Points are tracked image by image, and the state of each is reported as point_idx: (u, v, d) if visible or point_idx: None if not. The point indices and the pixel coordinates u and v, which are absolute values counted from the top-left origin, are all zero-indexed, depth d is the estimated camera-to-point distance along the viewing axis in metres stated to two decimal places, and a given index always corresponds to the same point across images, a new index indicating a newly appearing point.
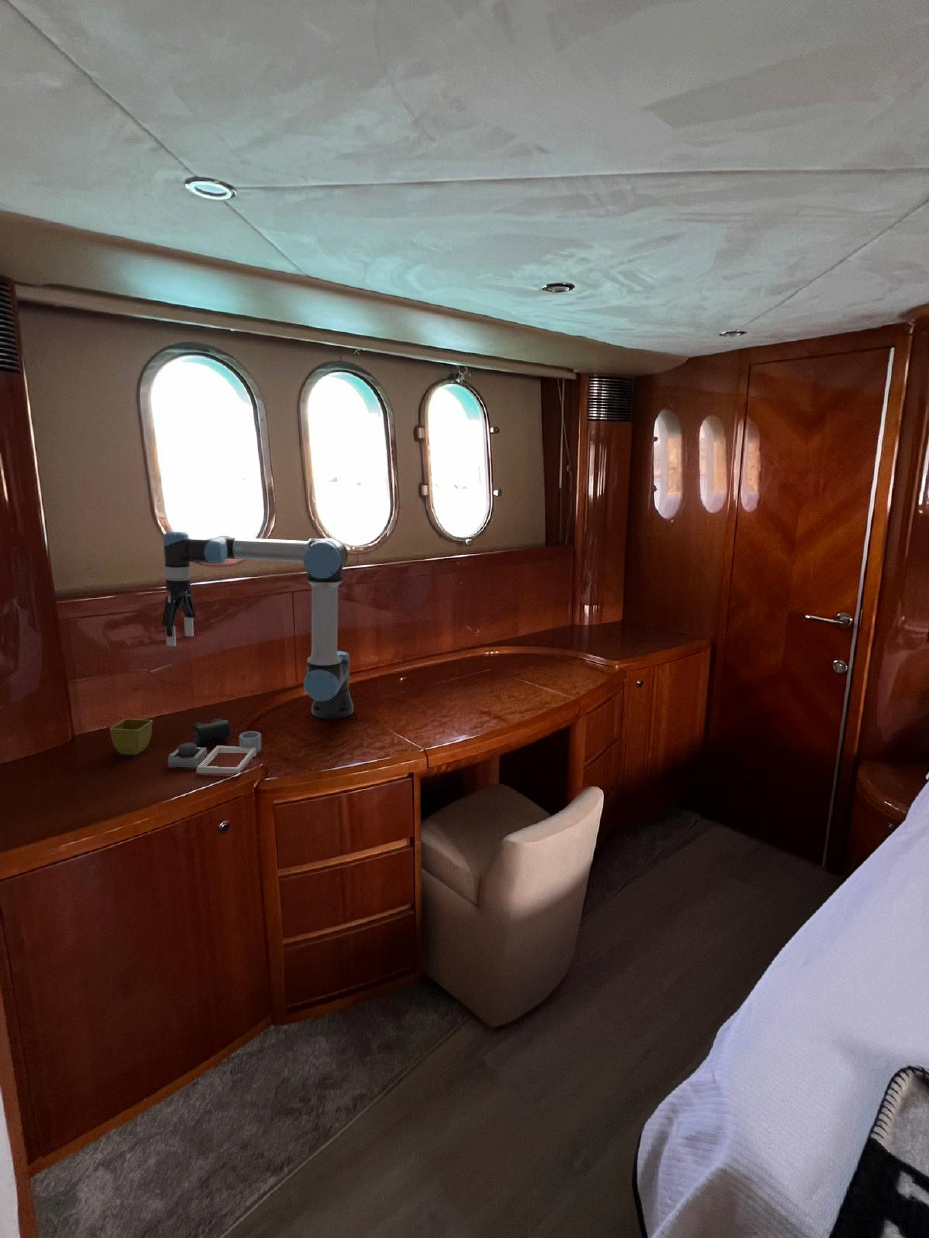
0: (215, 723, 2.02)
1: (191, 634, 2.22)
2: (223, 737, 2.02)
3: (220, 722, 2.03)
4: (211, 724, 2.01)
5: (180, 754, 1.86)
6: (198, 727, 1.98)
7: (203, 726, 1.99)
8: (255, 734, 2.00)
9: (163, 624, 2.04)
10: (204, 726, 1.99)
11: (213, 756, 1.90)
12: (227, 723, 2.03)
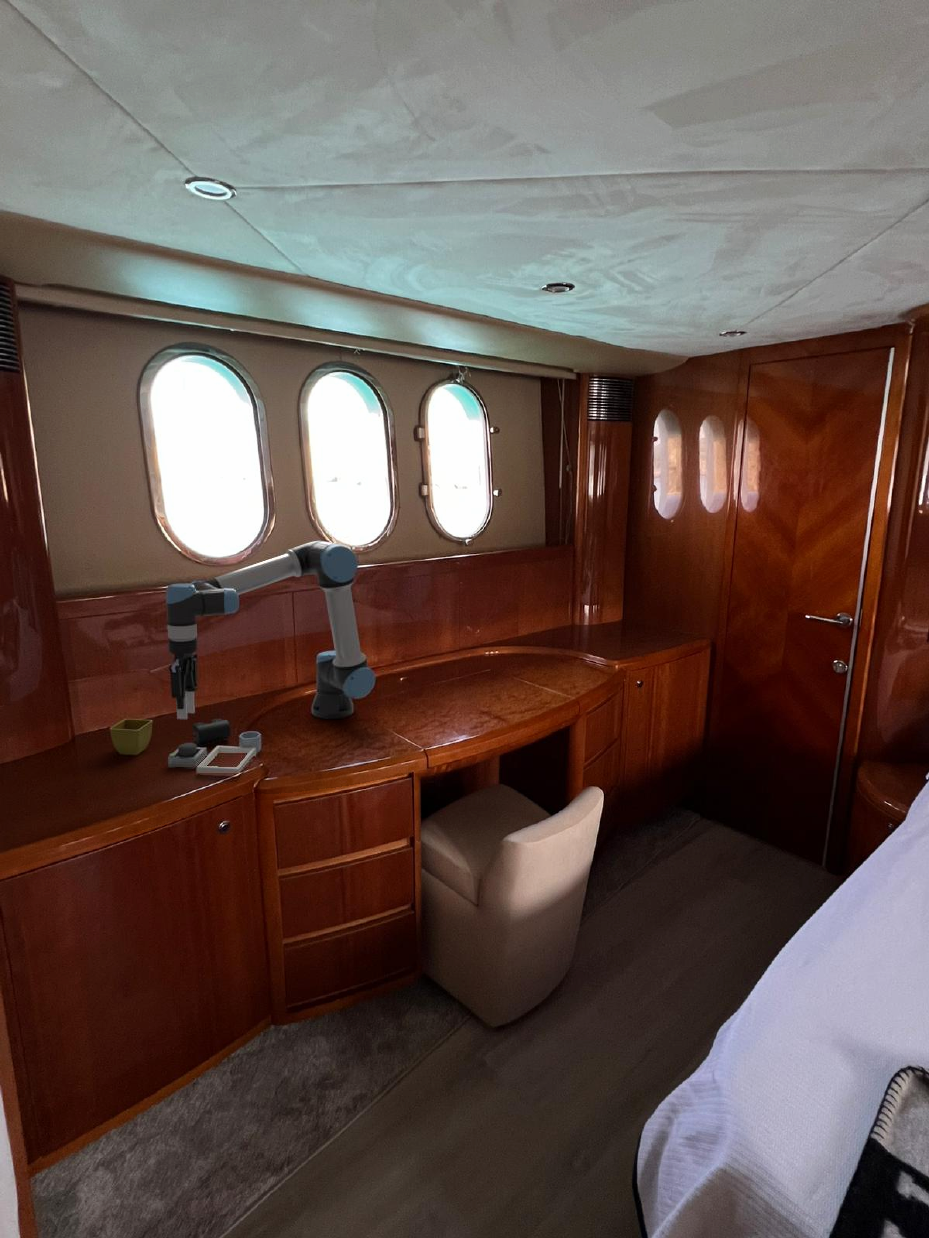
0: (215, 723, 2.02)
1: (192, 711, 1.87)
2: (223, 737, 2.02)
3: (220, 722, 2.03)
4: (211, 724, 2.01)
5: (180, 754, 1.86)
6: (198, 727, 1.98)
7: (203, 726, 1.99)
8: (255, 734, 2.00)
9: (173, 696, 1.78)
10: (204, 726, 1.99)
11: (213, 756, 1.90)
12: (227, 723, 2.03)
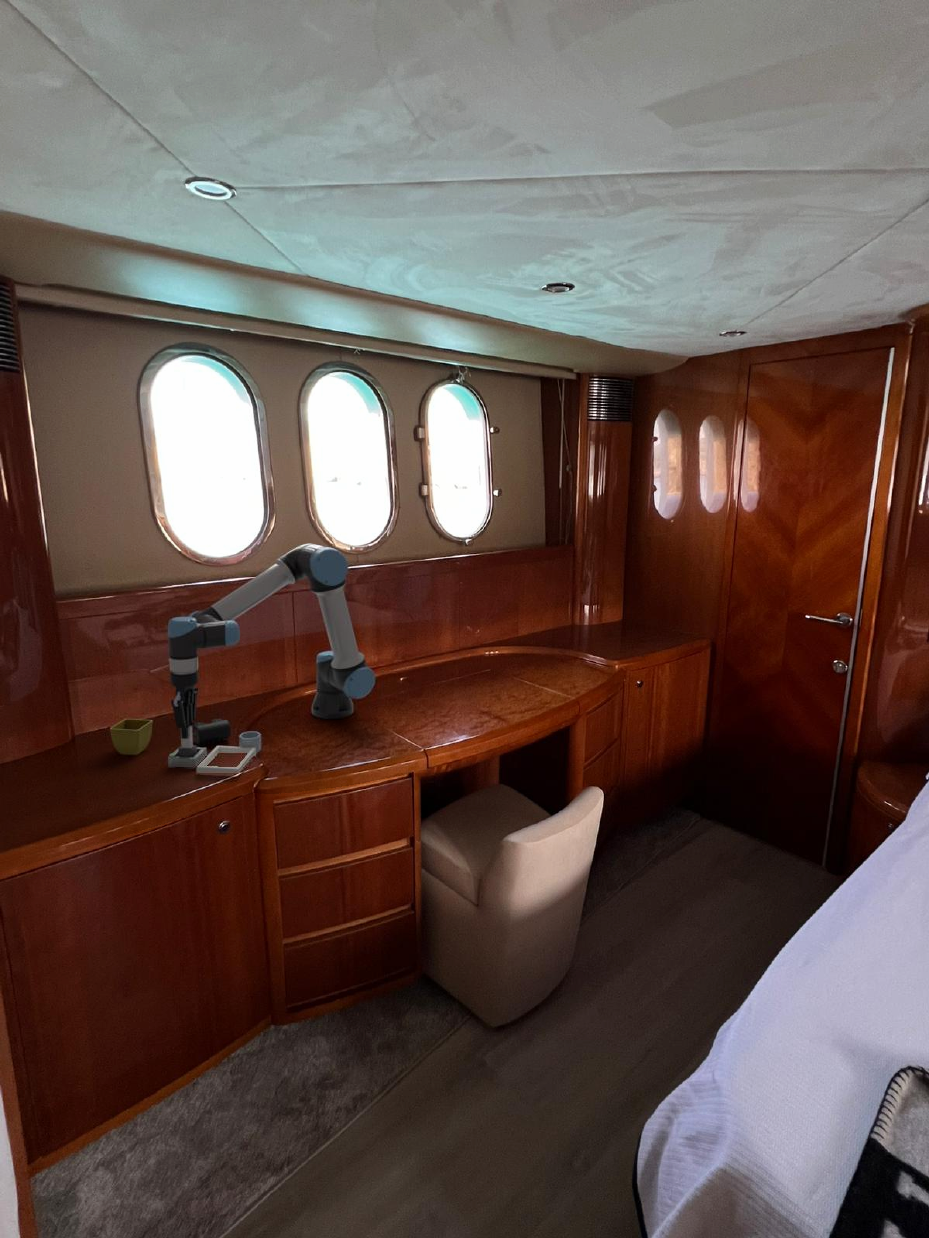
0: (215, 723, 2.02)
1: None
2: (223, 737, 2.02)
3: (220, 722, 2.03)
4: (211, 724, 2.01)
5: (180, 756, 1.86)
6: (198, 727, 1.98)
7: (203, 726, 1.99)
8: (255, 734, 2.00)
9: (178, 726, 1.82)
10: (204, 726, 1.99)
11: (213, 756, 1.90)
12: (227, 723, 2.03)
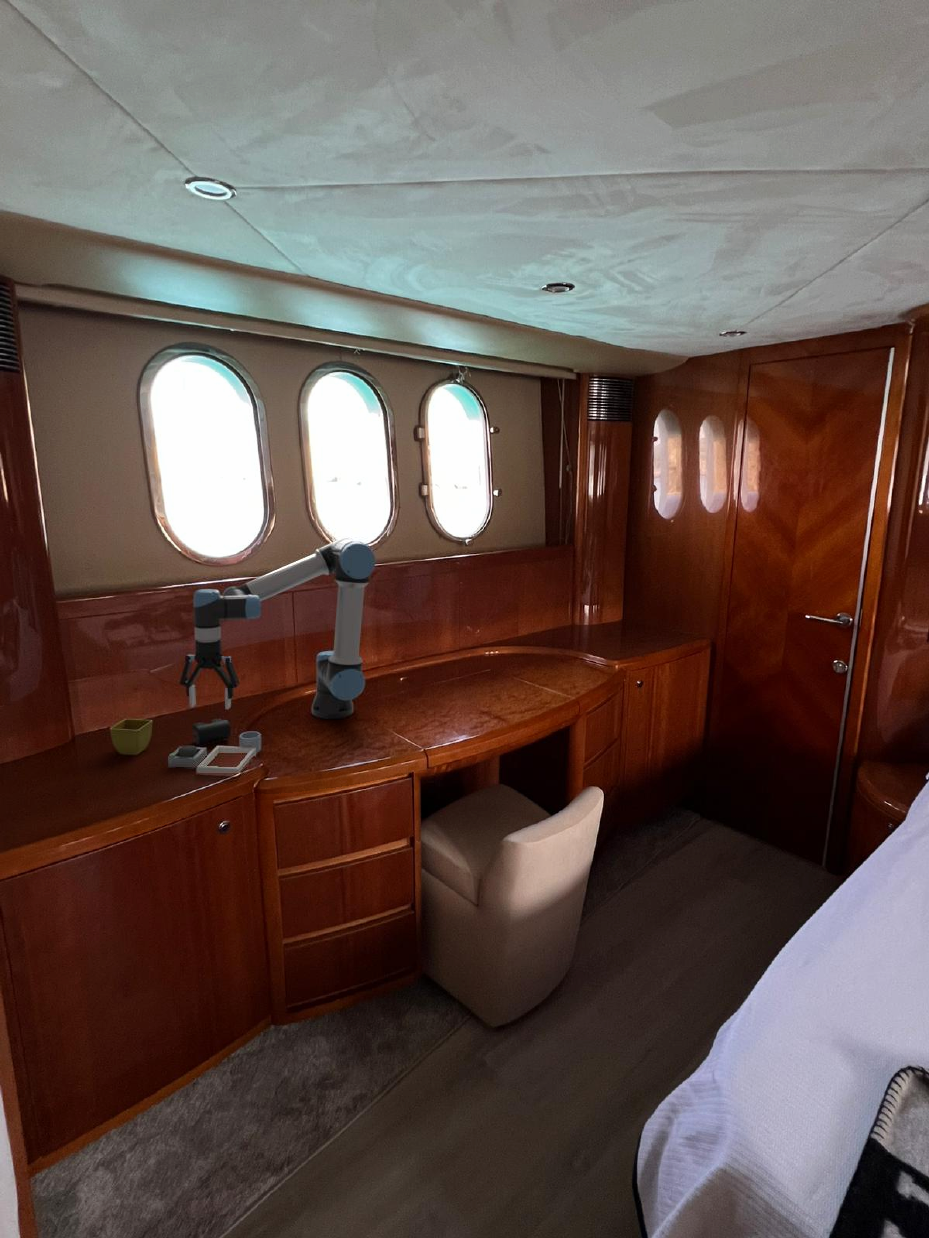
0: (215, 723, 2.02)
1: None
2: (223, 737, 2.02)
3: (220, 722, 2.03)
4: (211, 724, 2.01)
5: None
6: (198, 727, 1.98)
7: (203, 726, 1.99)
8: (255, 734, 2.00)
9: None
10: (204, 726, 1.99)
11: (213, 756, 1.90)
12: (227, 723, 2.03)
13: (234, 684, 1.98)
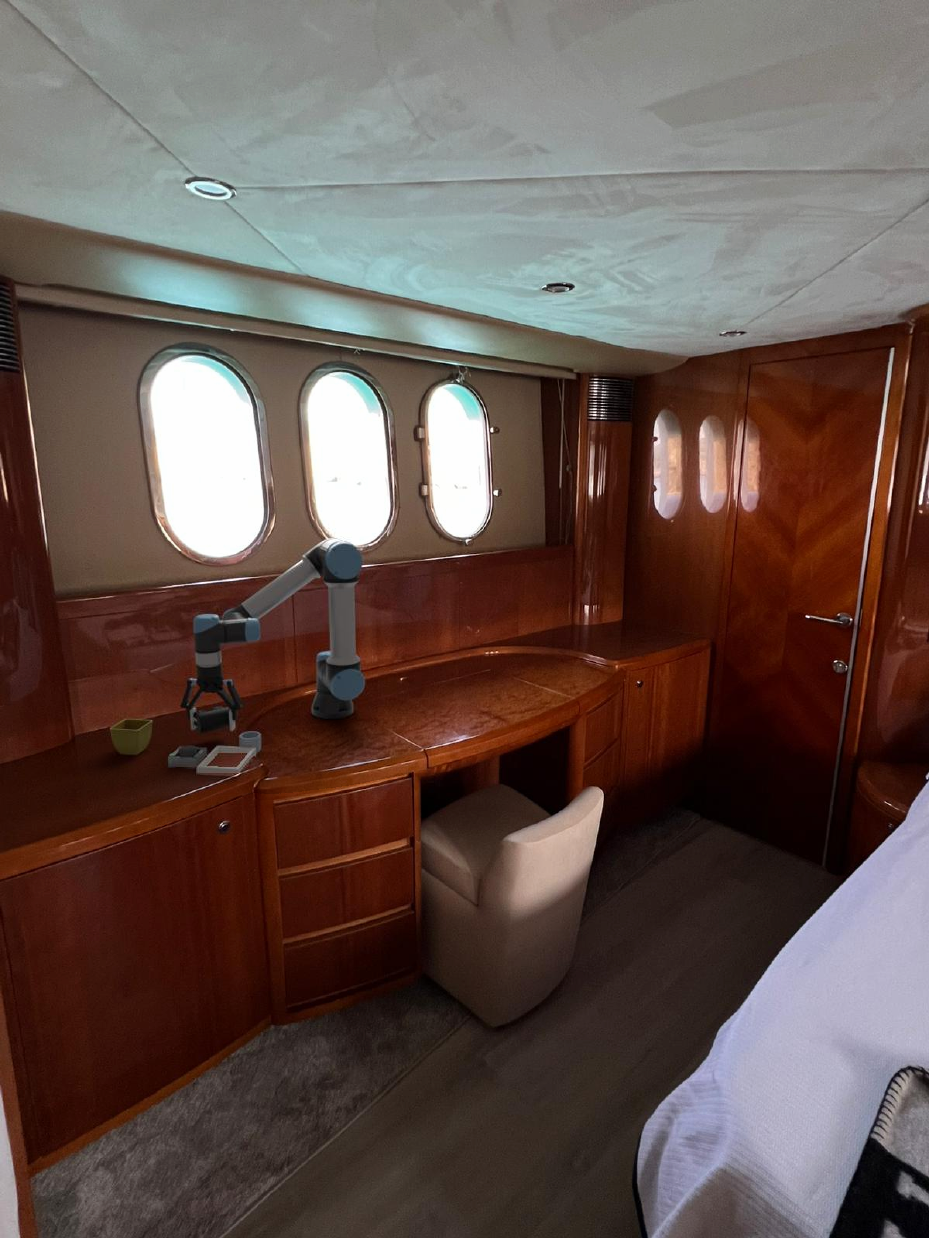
0: (216, 710, 2.01)
1: None
2: (225, 724, 2.02)
3: (221, 709, 2.02)
4: (212, 711, 2.00)
5: None
6: (199, 715, 1.97)
7: (204, 713, 1.98)
8: (255, 734, 2.00)
9: None
10: (205, 713, 1.98)
11: (213, 756, 1.90)
12: (228, 710, 2.03)
13: (238, 706, 1.99)
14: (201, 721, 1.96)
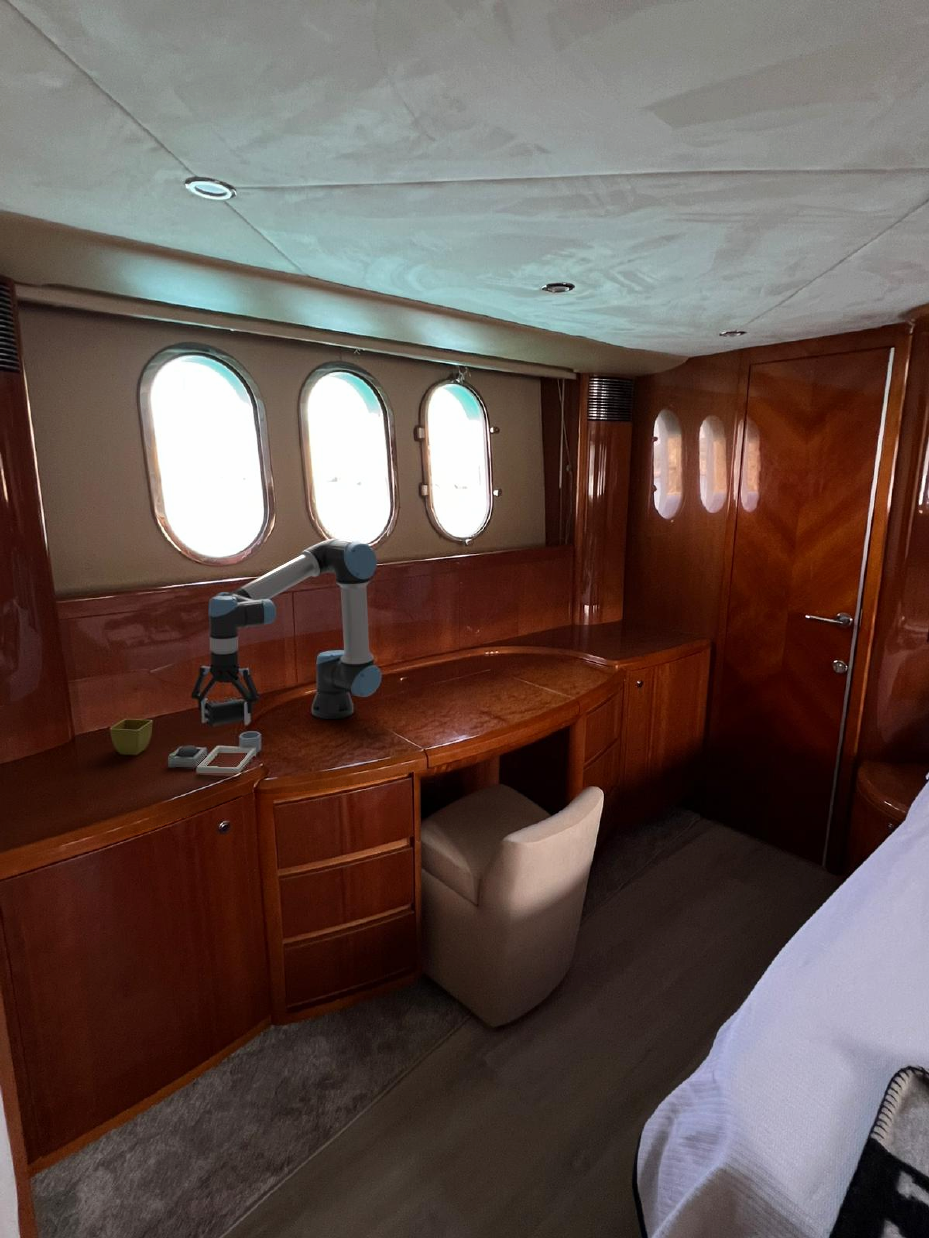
0: (230, 702, 1.84)
1: None
2: (239, 717, 1.84)
3: (235, 701, 1.85)
4: (226, 703, 1.83)
5: None
6: (212, 706, 1.80)
7: (217, 705, 1.81)
8: (255, 734, 2.00)
9: None
10: (218, 705, 1.81)
11: (213, 756, 1.90)
12: (243, 702, 1.85)
13: (254, 698, 1.82)
14: (214, 713, 1.79)
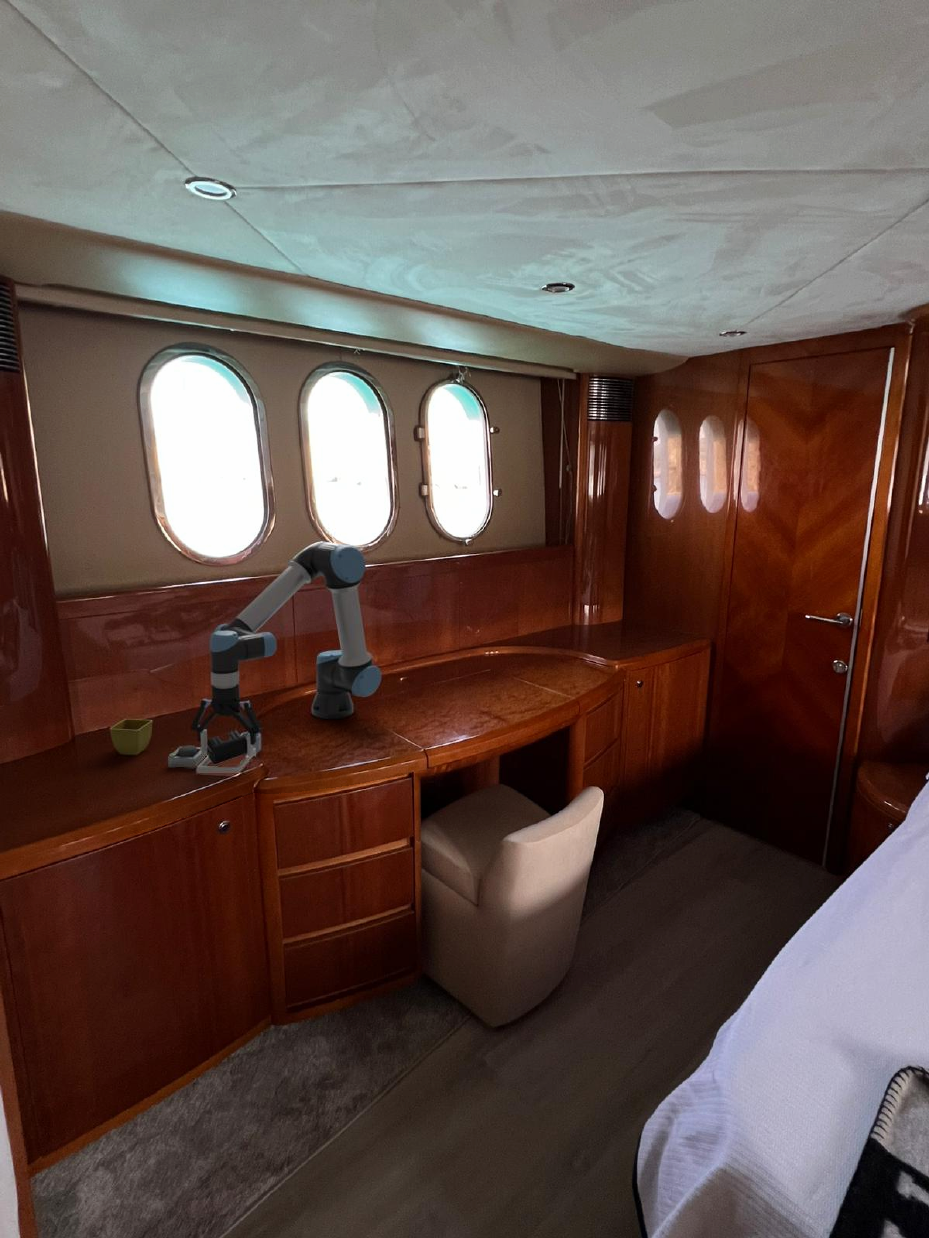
0: (232, 741, 1.84)
1: None
2: (240, 755, 1.87)
3: (238, 740, 1.85)
4: (228, 743, 1.84)
5: None
6: (214, 748, 1.81)
7: (219, 746, 1.82)
8: None
9: None
10: (221, 746, 1.82)
11: None
12: (245, 741, 1.86)
13: (257, 729, 1.84)
14: (216, 756, 1.80)
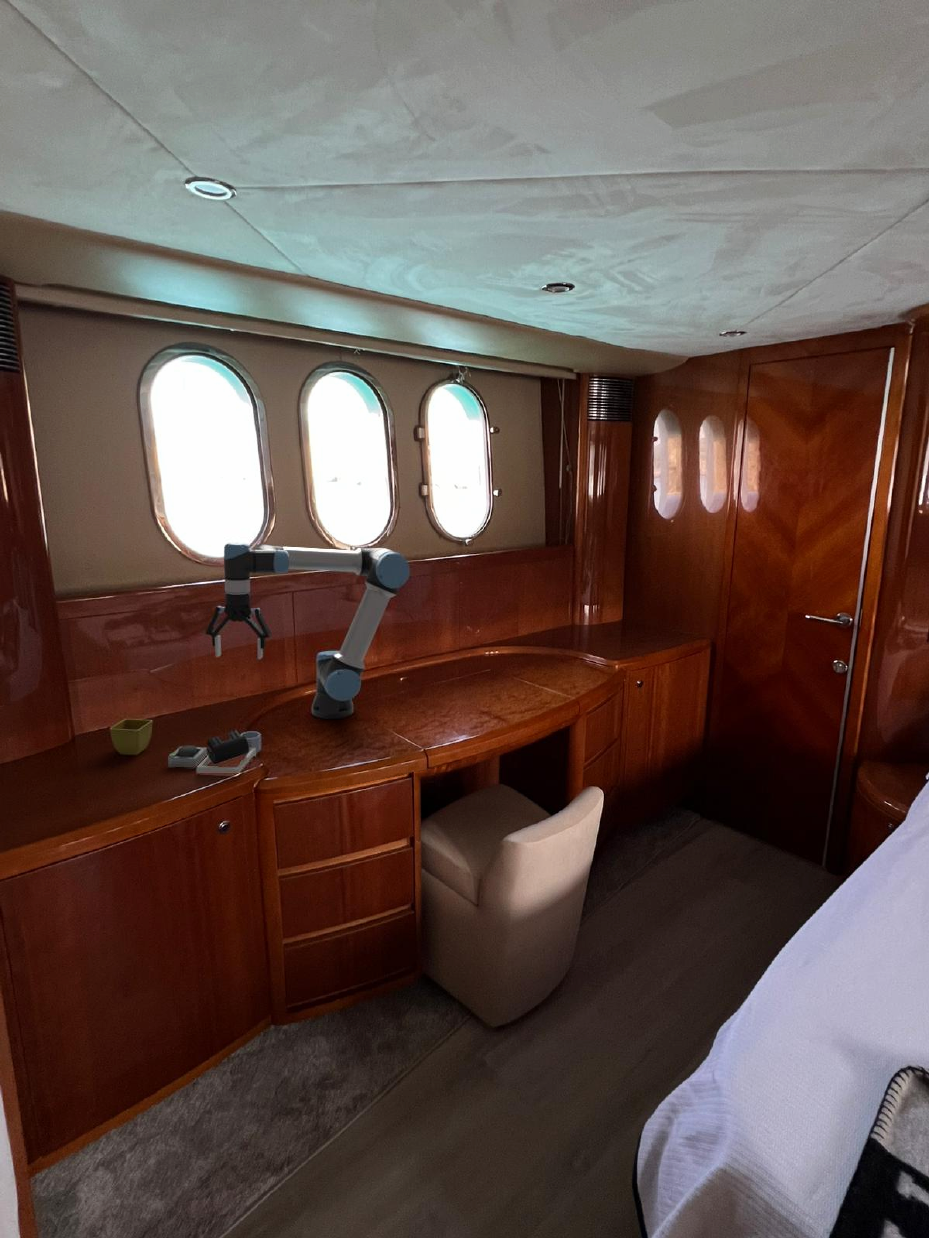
0: (232, 741, 1.84)
1: None
2: (240, 755, 1.87)
3: (238, 740, 1.85)
4: (228, 743, 1.83)
5: None
6: (214, 748, 1.81)
7: (219, 746, 1.82)
8: (255, 734, 2.00)
9: None
10: (221, 746, 1.82)
11: None
12: (245, 741, 1.86)
13: (266, 634, 2.02)
14: (216, 756, 1.80)
